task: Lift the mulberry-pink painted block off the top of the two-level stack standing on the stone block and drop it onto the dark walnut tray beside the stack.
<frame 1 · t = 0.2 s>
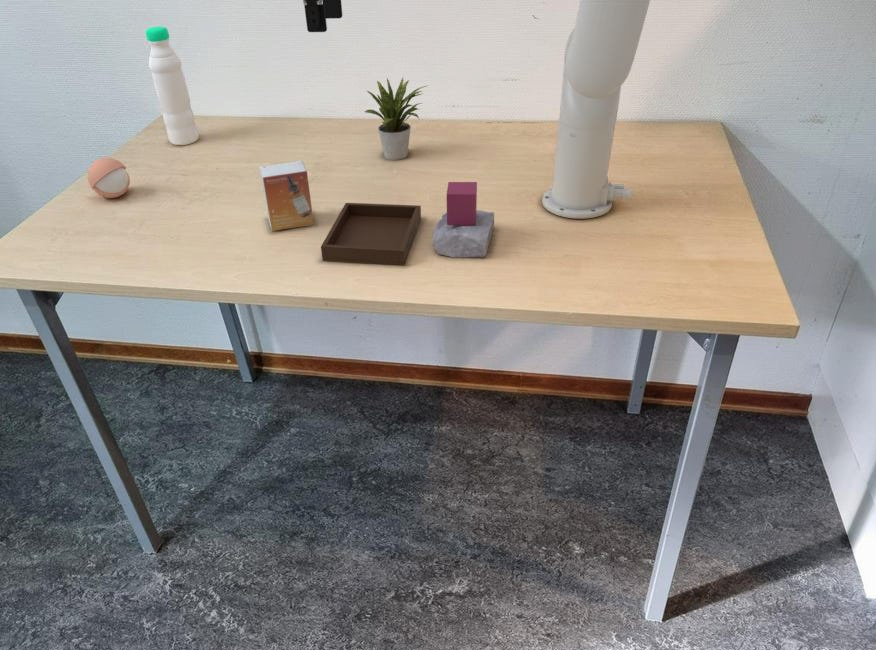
hand: (325, 24, 112), 31 cm above the table, tool pointing down, fingers open, 9 cm apart
stone block: (462, 242, 115), on the table, touching pink block
small box: (291, 223, 124), on the table
pink block: (461, 218, 112), point 4 cm above the table, touching stone block
house plant: (397, 158, 145), on the table
tray: (374, 239, 117), on the table
water bottle: (184, 141, 160), on the table
toy ball: (115, 196, 137), on the table
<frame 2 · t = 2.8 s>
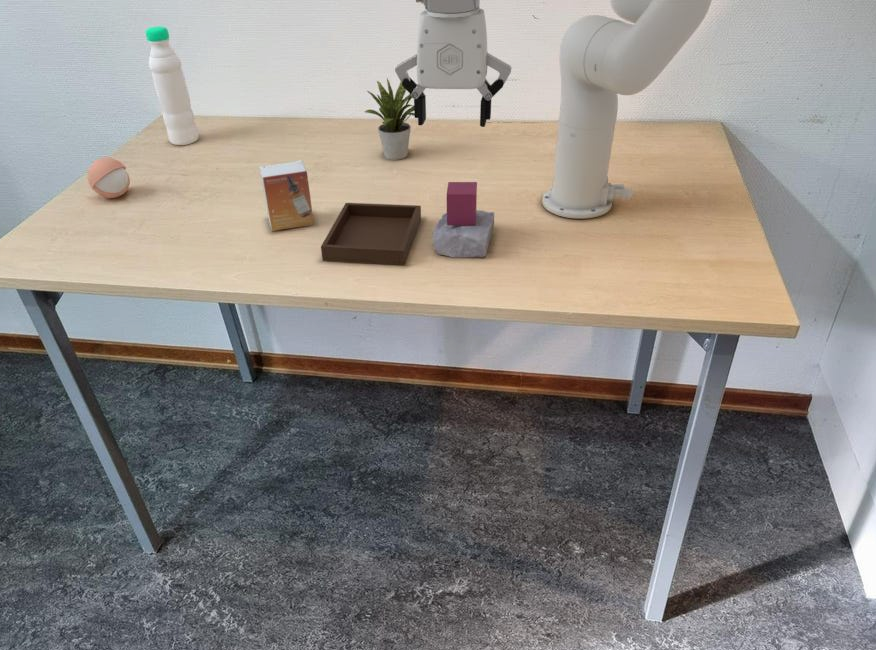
hand: (452, 123, 103), 20 cm above the table, tool pointing down, fingers open, 9 cm apart
nothing on the table moved.
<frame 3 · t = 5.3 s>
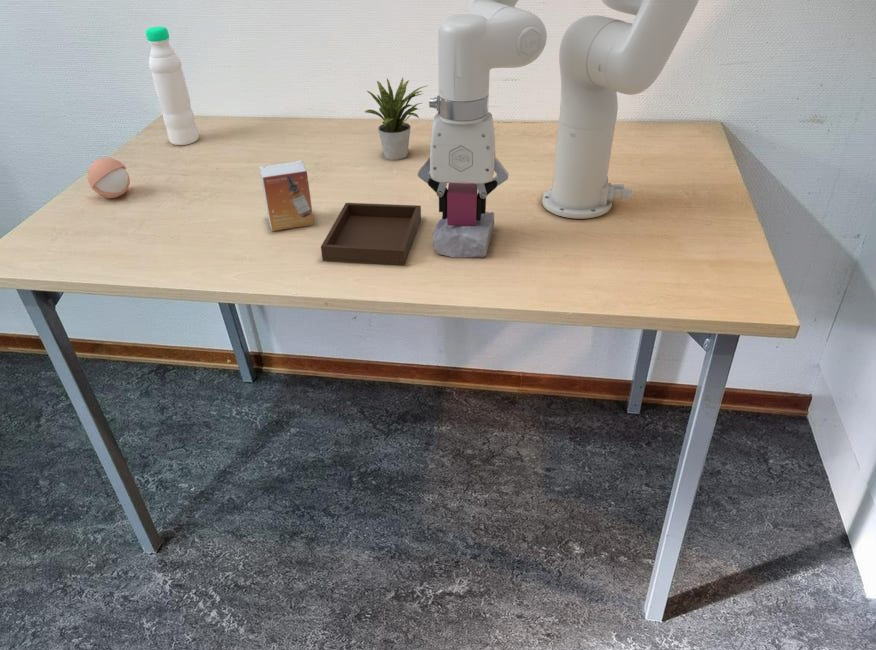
hand: (462, 215, 112), 5 cm above the table, tool pointing down, fingers closed on pink block, 5 cm apart
pink block: (462, 219, 112), point 4 cm above the table, touching gripper, stone block
everything else where it was.
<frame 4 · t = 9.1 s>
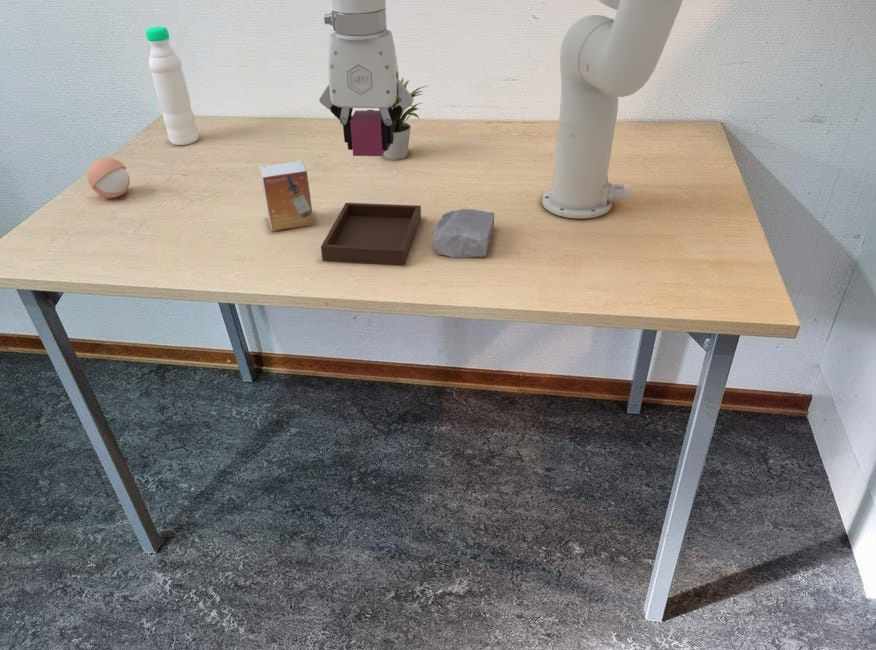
hand: (369, 146, 106), 17 cm above the table, tool pointing down, fingers closed on pink block, 5 cm apart
stone block: (462, 242, 115), on the table
pink block: (370, 150, 107), point 16 cm above the table, touching gripper
everything else where it was.
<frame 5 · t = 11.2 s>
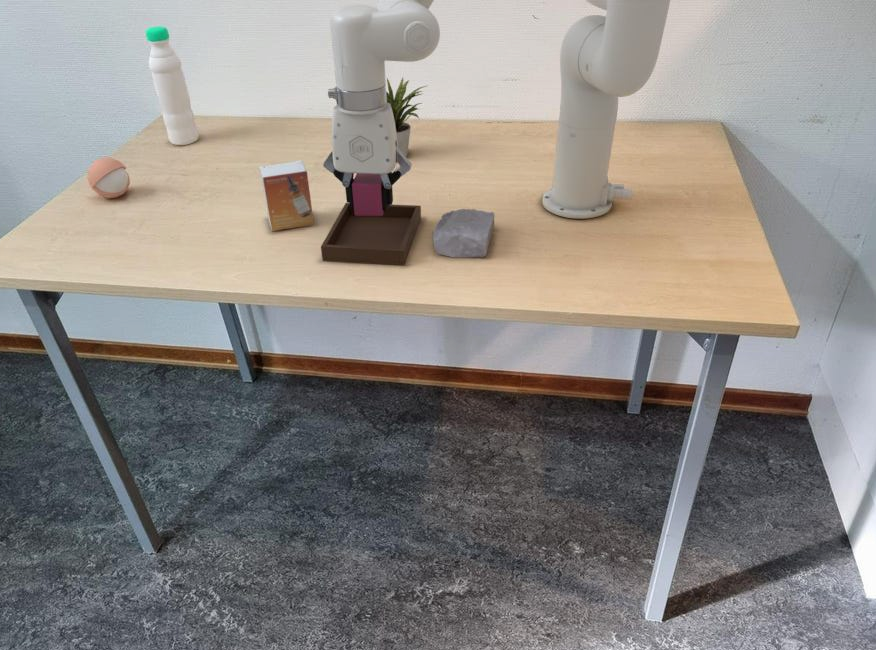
hand: (370, 205, 113), 6 cm above the table, tool pointing down, fingers closed on pink block, 5 cm apart
pink block: (370, 209, 113), point 6 cm above the table, touching gripper
everything else where it was.
when the fingers open (1 cm above the table, at t = 12.9 s): pink block stays where it is, resting on tray.
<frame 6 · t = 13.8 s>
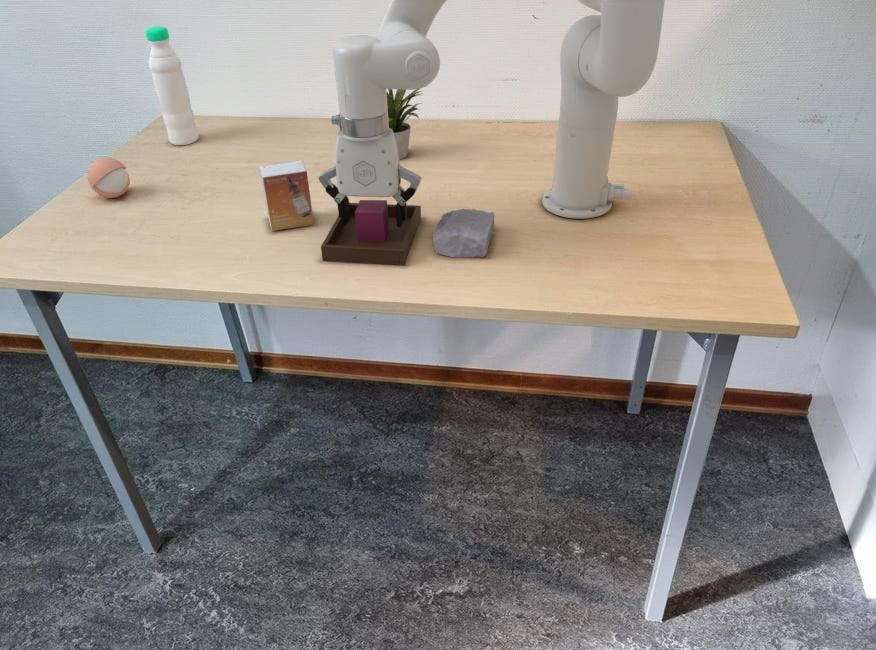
hand: (373, 222, 115), 3 cm above the table, tool pointing down, fingers open, 9 cm apart
pink block: (373, 235, 117), point 1 cm above the table, touching tray
everything else where it was.
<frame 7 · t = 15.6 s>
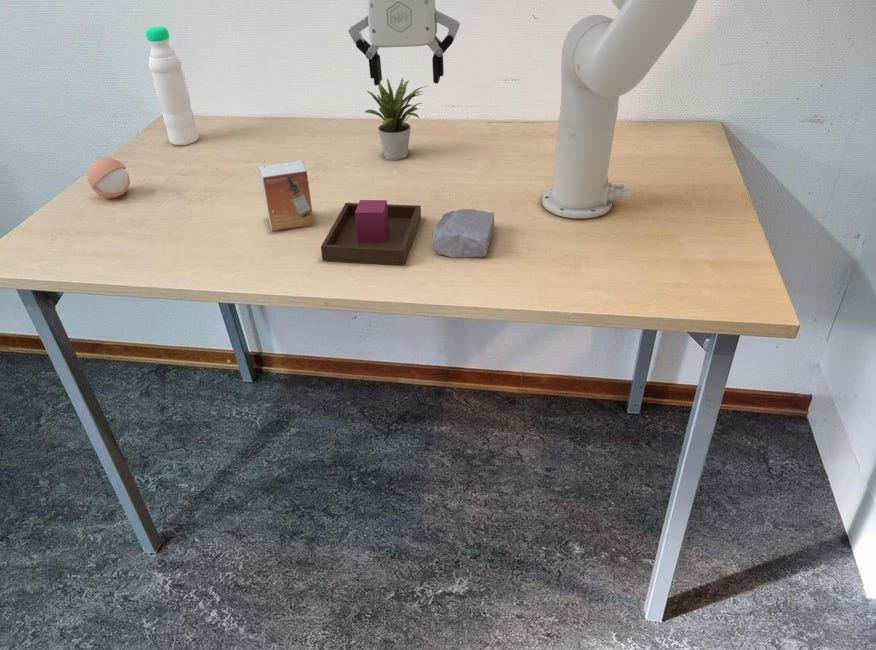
hand: (407, 81, 107), 24 cm above the table, tool pointing down, fingers open, 9 cm apart
nothing on the table moved.
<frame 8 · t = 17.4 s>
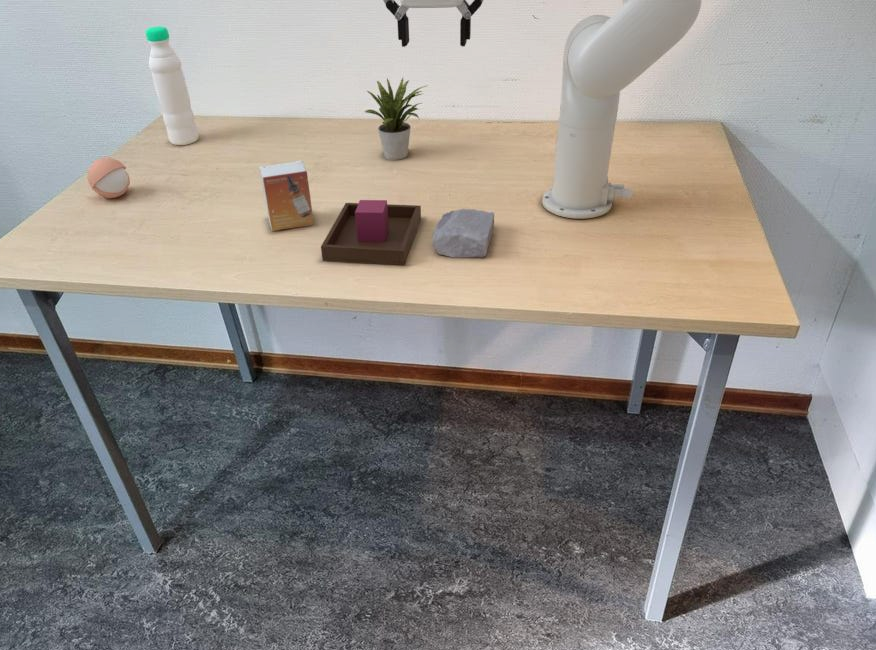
hand: (434, 44, 109), 28 cm above the table, tool pointing down, fingers open, 9 cm apart
nothing on the table moved.
at the end: pink block inside the target area in the tray (0.4 cm from its centre), point 0.6 cm above the tray's base; pink block tilted 0°; the gripper is holding nothing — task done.
